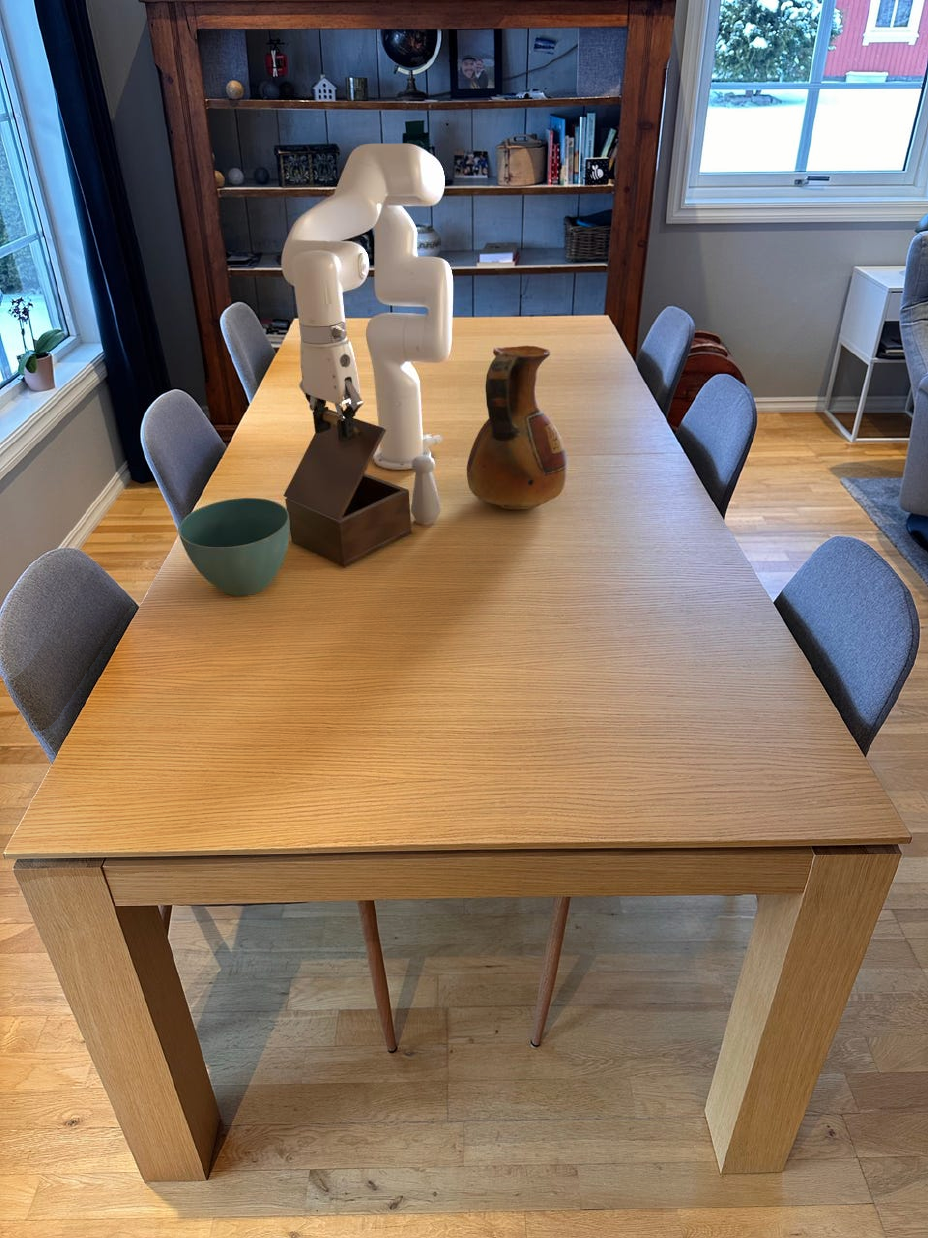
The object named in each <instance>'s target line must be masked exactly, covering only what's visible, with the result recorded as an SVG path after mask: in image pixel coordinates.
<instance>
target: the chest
mask: <svg viewBox="0 0 928 1238" xmlns="http://www.w3.org/2000/svg"><path fill="white" fill-rule="evenodd" d="M284 501H285V508H286V509H287V511H288V513H289V521H290V532H289V536H290V541H291V543H292V544H294V545H296V546H298V547H301V548H303V549H304V550H307V551H309V552H311V553H313V554H315V555H318V556H319V557H322V558H323V559H325V560H327V561H329V562H332V563H334V564H336V565H338V566H340V567H342V568H346V567H349V566H350V565H353V564H354V563H356V562H359V561H360V560H362V559H364V558H366V557H368V556H369V555H372V554H374V553H375V552H378V551H380V550H382V549H384V548H386V547H387V546H390V545H391V544H394V543H395V542H397V541H399V540H401V539H403V538H406V537H408V536H410V535H411V534H413V533H412V532H413V531H412V519H411V517H412V516H411V504H410V503H411V501H410V490H409V489H408V488H405V487H402V486H399V485H397V484H395V483H393V482H390V481H387V480H384V479H381V478H379V477H376V476H374V475H371V474H368V473H366V472H365V473H364V475H363V477H362V479H361V481H360V483H359V485H358V487H357V489H356V491H355V493H354V495H353V497H352V499H351V501H350V503H349V505H348V507H347V509H346V511H345V513H344V515H343V517H342V519H341V521H339V520H336V519H334V518H332V517H330V516H327V515H325V514H323V513H321V512H318V511H316V510H314V509H311V508H309V507H307V506H305V505H302V504H300V503H298V502H295V501H293V500H291V499H289V498H286V497H285V498H284Z"/></svg>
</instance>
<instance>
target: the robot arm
mask: <svg viewBox="0 0 928 1238" xmlns="http://www.w3.org/2000/svg"><path fill="white" fill-rule="evenodd" d="M444 191H445V174H444V170H443V167H442V165H441V163H440V161H439V160H438V159H437V158H436V157H435V156H434V155H433V154H431V153H429V151H427V150H426V149H424V148H423V147H421V146H418V145H416V144H413V143H365V144H361V145H358V146H357V147H355V149H353V150H352V151H351V153H350V154H349V156H348V158H347V160H346V163H345V166H344V169H343V171H342V172H341V175H340V177H339V180H338V183H337V186H336V187H335V190H334V193H333V194H332V195H331V196H329V197H327V198H325V199H323V200H322V201H320V202H319V203H317V204H316V205H314V206H313V207H311V208H309V209H308V210H306V211H305V212H304V213H303V214H301V215H300V216H299V217H298V218H297V219H296V220H295V222H294V223H293V225H292V226H291V228H290V231H289V234H288V236H287V238H286V240H285V243H284V246H283V249H282V253H281V271H282V274H283V277H284V279H285V280H286V282H287V283H289V284H290V285H291V286H293V287H294V294H295V303H296V310H297V318H298V325H299V326H298V327H299V334H300V335H299V336H300V345H299V346H300V347H299V348H300V350H299V356H300V360H299V361H300V373H301V381H300V383H299V384H298V385H299V389H300V390H301V392H302V393H303V394H304V395H305V399H306V400H307V402H308V403H309V410H310V411H311V412H312V417H313V418H312V419H313V427H314V432H316V433H318V434H319V433H321V432H324V431H326V430H329V429H330V428H331V424H330V423H329V422H326V421H324V420H323V418H322V416H323V413H324V412H326V411H329V410H330V408H329V406H327V402H328V403H331V404H334V406H335V410H336V412H337V413H338V416H339V420H337V426H338V435H339V441H340V442H345V441H347V440H350V439H352V438H354V437H355V431H354V421H353V418H355V417H356V413H357V412H358V411H359V409H360V408H361V407H362V406H363V405H364V401H363V400H362V398H361V396H360V395H361V392H360V380H359V376H358V367H357V363H356V359H355V353H354V351H353V347H352V344H351V341H350V340H348V336H347V335H348V332H347V325H346V317H345V307H344V297H343V296H344V295H343V293H345V292H348V291H349V292H350V291H353V290H355V289H357V288H359V287H360V286H362V285H363V283H364V282H365V281H366V279H367V276H368V275H369V271H370V261H369V256H368V253H367V252H366V251H367V250H365V248H364V247H363V246H362V245H361V244H359V243H357V242H354V241H350V240H349V239H351V238H355V237H357V236H360V235H362V234H365V233H366V232H369V231H370V230H372V229H373V235H374V261H373V262H374V267H373V269H374V274H373V275H374V277H373V279H374V281H373V282H374V293H375V298H376V299H377V301H378V302H379V303H381V304H384V305H387V306H392V307H393V306H394V307H418V308H419V307H420V308H426V309H427V313H411V312H409V313H408V312H384V313H378V314H376V315H374V316H372V317H371V319H370V320H369V321H368V323H367V325H366V329H365V330H366V331H365V338H366V344H367V345H366V346H367V348H368V352H369V355H370V360H371V365H372V372H373V380H374V390H375V391H374V392H375V402H376V403H375V404H376V416H377V426H379V427H382V428H384V429H386V432H385V434H384V436H383V438H382V440H381V442H380V444H379V449H377V450H376V452H375V454H374V456H373V460H374V463H375V464H376V465H377V466H379V467H380V468H383V469H386V470H393V471H404V470H407V471H408V470H413V469H412V461H413V459H414V458H415V457H417V456H430V457H431V458H432V451H431V450H430V448H432V446H436V445H440V444H442V443H443V442H444V439H443V437H442V434H437V435H434V436H432V434H431V433H427V434H424V433H423V432H424V431H423V416H422V397H421V381H420V378H419V376H418V373H417V371H416V369H415V368H414V366H413V365H412V364H411V363H420V364H421V363H423V364H440V363H443V362H445V361H446V360H447V359H448V358H449V356H450V353H451V348H452V341H453V339H452V338H453V306H454V279H453V278H454V277H453V273H452V272H453V271H452V268H451V266H450V264H449V263H448V261H447V260H445V259H444V258H441V257H439V256H418V231H417V227H416V225H415V223H414V221H413V219H412V217H411V216H410V214H409V213H408V212H407V210H406V209H405V208H404V207H433V206H434V205H437V204H438V203H439V202H440V201H441V199H442V197H443V195H444ZM343 405H345V408H343V407H344V406H343ZM423 434H424V435H423Z"/></svg>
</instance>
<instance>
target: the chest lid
mask: <svg viewBox="0 0 928 1238" xmlns="http://www.w3.org/2000/svg"><path fill="white" fill-rule="evenodd" d="M322 418H323V420H324V421H326V422H329V423H330V424H331V428H330V429H329V430H326V431H324V432H321V433H319V434H318V433H316V432H315V431H314V432H315V433H314V434H313V437H312V438H311V440H310V442H309V445H308V446H307V448H306V450H305V451H304V453H303V456H302V458H301V460H300V462H299V464H298V466H297V467H296V470H295V472H294V474H293V476H292V477H291V479H290V481H289V484H288V486H287V488H286V490H285V492H284V494H283V497H285V499H286V498H289V499H291V500H293V501H295V502H298V503H300V504H302V505H305V506H307V507H309V508H311V509H314V510H316V511H318V512H321V513H323V514H325V515H327V516H330V517H332V518H334V519H336V520H339V521H341V519H342V517H343V515H344V513H345V511H346V509H347V507H348V505H349V503H350V501H351V499H352V497H353V495H354V493H355V491H356V489H357V487H358V485H359V483H360V481H361V479H362V477H363V475H364V473H366V472H367V470H368V468H369V465H370V463H371V462H372V460H373V459H374V454H375V452H376V451H377V450H378V447H380V442H381V440H382V438H383V436H384V434H385V432H386V429H384V428H382V427H379V426H378V425H376V424H373V423H370V422H367V421H365V420H361V419H358V418H356V417H353V421H354V431H355V437H354V438H352V439H350V440H347V441H345V442H340V441H339V435H338V426H337V420H339V416H338V413H337V411H334V410H331V409H329V411H326V412H324V413H323V416H322Z"/></svg>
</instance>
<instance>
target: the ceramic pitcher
mask: <svg viewBox="0 0 928 1238" xmlns="http://www.w3.org/2000/svg"><path fill="white" fill-rule="evenodd" d="M492 354H493V355H494V359H493V360H492V361H491V363H490V364H489V367H488V370H487V373H486V377H485V378H486V379H485V389H484V390H485V400H486V408H487V412H488V413H487V415H488V419H487V420H486V421H485V422H484V423H483V424H482V426H481V428H480V429H479V431H478V433H477V435H476V437H475V439H474V441H473V444H472V446H471V449H470V452H469V456H468V458H467V459H468V460H467V464H466V479H467V484H468V488H469V490H470V491H471V493H472V494H473V495H474V496H475V497H477V499H479V500H481V501H484V502H486V503H489V504H492V505H496V506H500V508H502V509H506V510H507V509H508V510H529V509H533V508H537V507H540V506H542V505H543V504H546V503H548V502H551V501H552V500H554V499H556V498H557V497H559V496H560V495H561V494H562V491H563V490H564V488H565V485H566V480H567V475H568V474H567V472H568V461H567V459H568V458H567V454H566V450H565V444H564V442H563V439H562V437H561V435H560V433H559V431H558V429H557V427H556V426H555V424H554V422H553V421H552V420H551V418H550V417H549V416H548V415H547V414H546V413H545V412H543V411H542V410H541V409H540V408H539V406H538V402H537V398H536V384H537V383H536V382H537V377H538V369H539V367H540V366H541V364H542V363H543V362H544V361H545V360H546V359H547V358H548V357H549V356H550V355H551V351H550V349H547V348H544V347H539V346H534V345H519V346H504V347H495V348H494V347H493V351H492Z"/></svg>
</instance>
